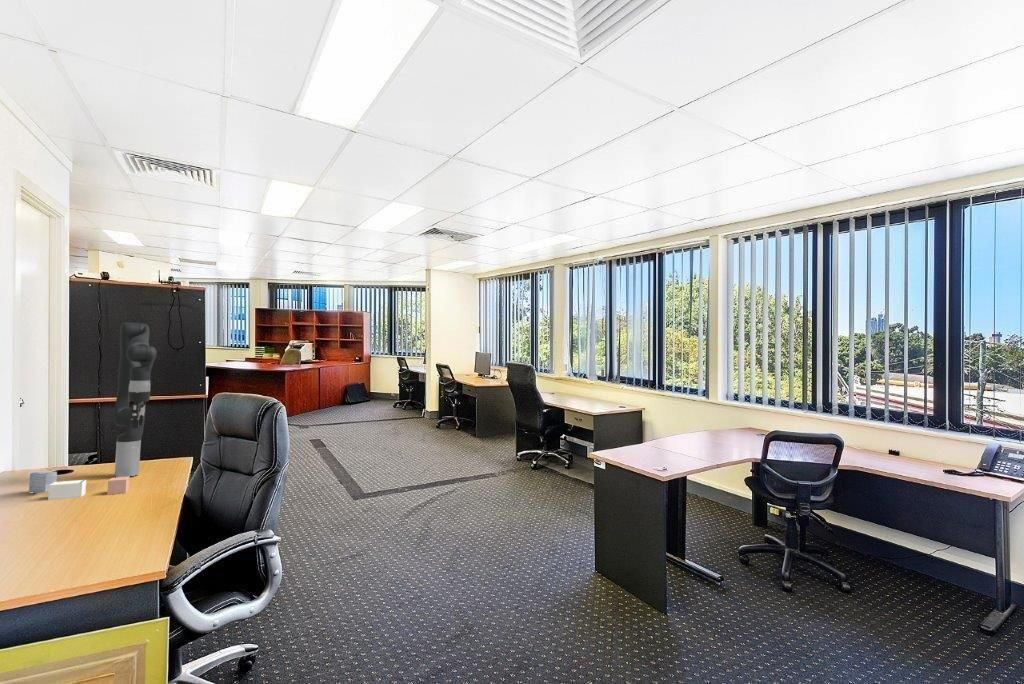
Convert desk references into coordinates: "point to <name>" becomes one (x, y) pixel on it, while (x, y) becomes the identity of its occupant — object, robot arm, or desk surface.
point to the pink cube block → (118, 485)
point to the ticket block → (67, 489)
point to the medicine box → (41, 481)
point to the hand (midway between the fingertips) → (137, 426)
